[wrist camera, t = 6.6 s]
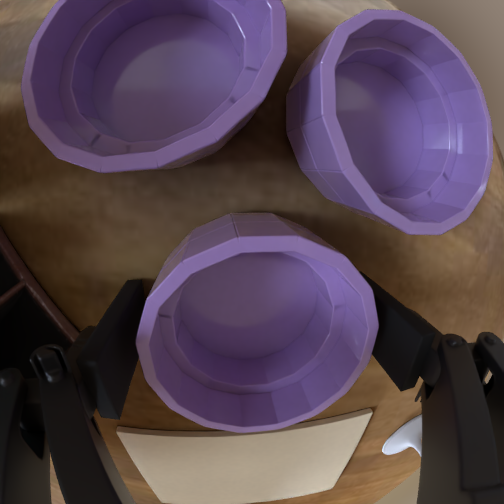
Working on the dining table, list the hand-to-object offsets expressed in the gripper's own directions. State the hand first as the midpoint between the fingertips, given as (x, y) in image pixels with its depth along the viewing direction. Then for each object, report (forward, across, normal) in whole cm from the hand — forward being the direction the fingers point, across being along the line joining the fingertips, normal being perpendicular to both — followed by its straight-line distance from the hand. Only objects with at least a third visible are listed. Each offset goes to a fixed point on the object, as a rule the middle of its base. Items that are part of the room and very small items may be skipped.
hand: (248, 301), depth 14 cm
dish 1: (0, -4, +11) cm, 12 cm away
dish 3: (0, +6, +9) cm, 11 cm away
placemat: (0, 0, -19) cm, 19 cm away
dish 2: (0, 0, 0) cm, 0 cm away
